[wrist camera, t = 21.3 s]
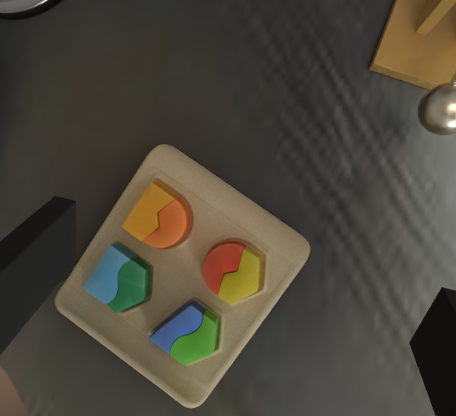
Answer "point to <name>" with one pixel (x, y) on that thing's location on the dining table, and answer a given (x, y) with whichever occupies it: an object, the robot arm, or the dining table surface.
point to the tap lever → (439, 108)
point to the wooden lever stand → (418, 43)
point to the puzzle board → (181, 275)
